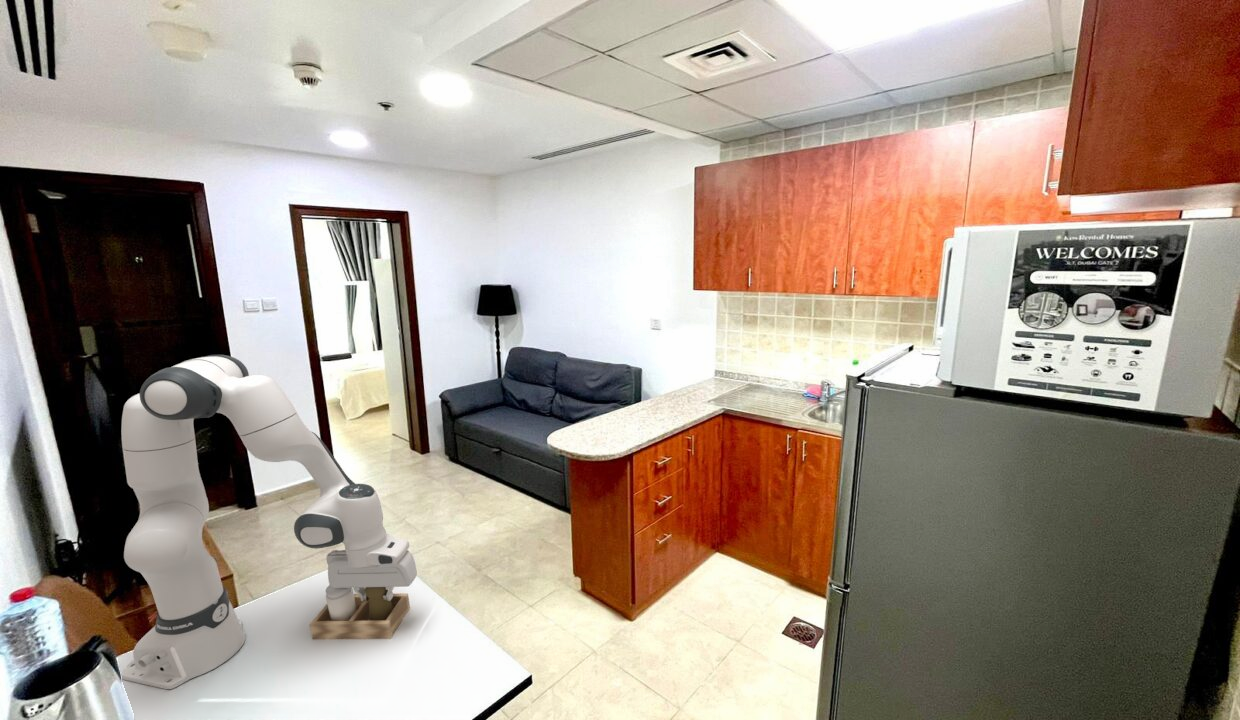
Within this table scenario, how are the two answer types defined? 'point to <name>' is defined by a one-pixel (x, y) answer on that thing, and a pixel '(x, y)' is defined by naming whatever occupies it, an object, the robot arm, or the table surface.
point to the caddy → (360, 622)
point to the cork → (378, 604)
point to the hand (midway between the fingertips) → (377, 599)
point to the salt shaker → (340, 603)
